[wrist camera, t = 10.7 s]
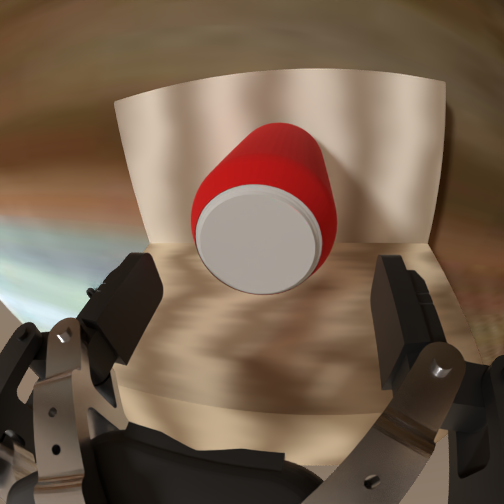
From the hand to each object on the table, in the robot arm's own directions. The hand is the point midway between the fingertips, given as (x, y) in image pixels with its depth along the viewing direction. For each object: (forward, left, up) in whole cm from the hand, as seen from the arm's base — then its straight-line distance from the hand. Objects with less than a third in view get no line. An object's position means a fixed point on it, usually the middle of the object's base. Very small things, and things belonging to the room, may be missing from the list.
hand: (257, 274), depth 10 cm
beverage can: (0, 0, -13) cm, 13 cm away
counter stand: (0, +5, -16) cm, 17 cm away
